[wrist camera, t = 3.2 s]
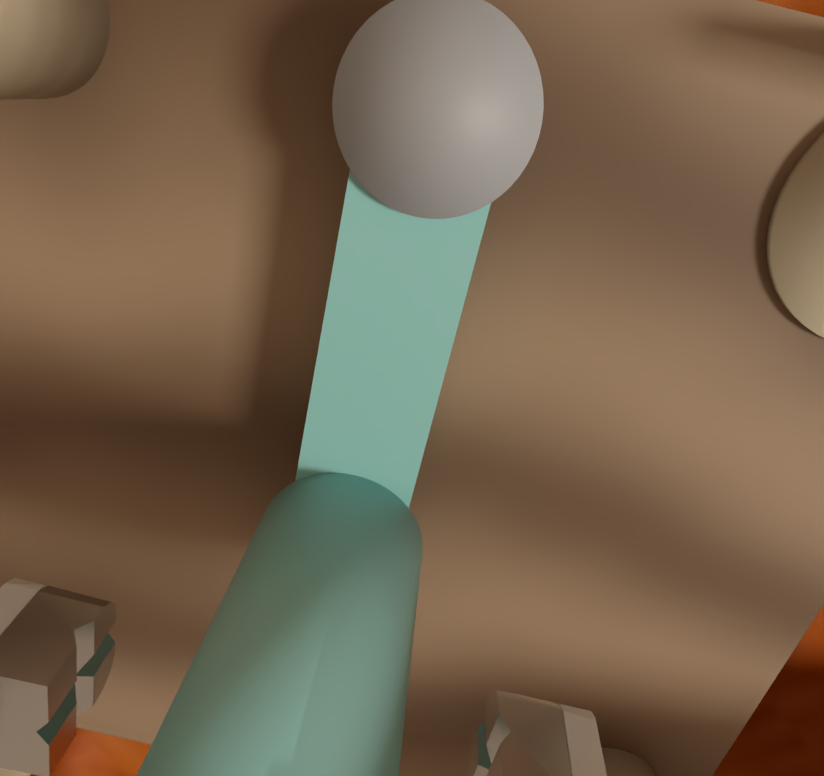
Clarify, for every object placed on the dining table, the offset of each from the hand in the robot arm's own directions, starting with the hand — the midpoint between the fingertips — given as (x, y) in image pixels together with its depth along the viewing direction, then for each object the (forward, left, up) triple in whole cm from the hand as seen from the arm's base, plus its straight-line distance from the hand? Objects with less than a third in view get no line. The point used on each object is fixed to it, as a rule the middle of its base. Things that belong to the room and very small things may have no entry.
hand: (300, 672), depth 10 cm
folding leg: (+4, 0, -4) cm, 6 cm away
